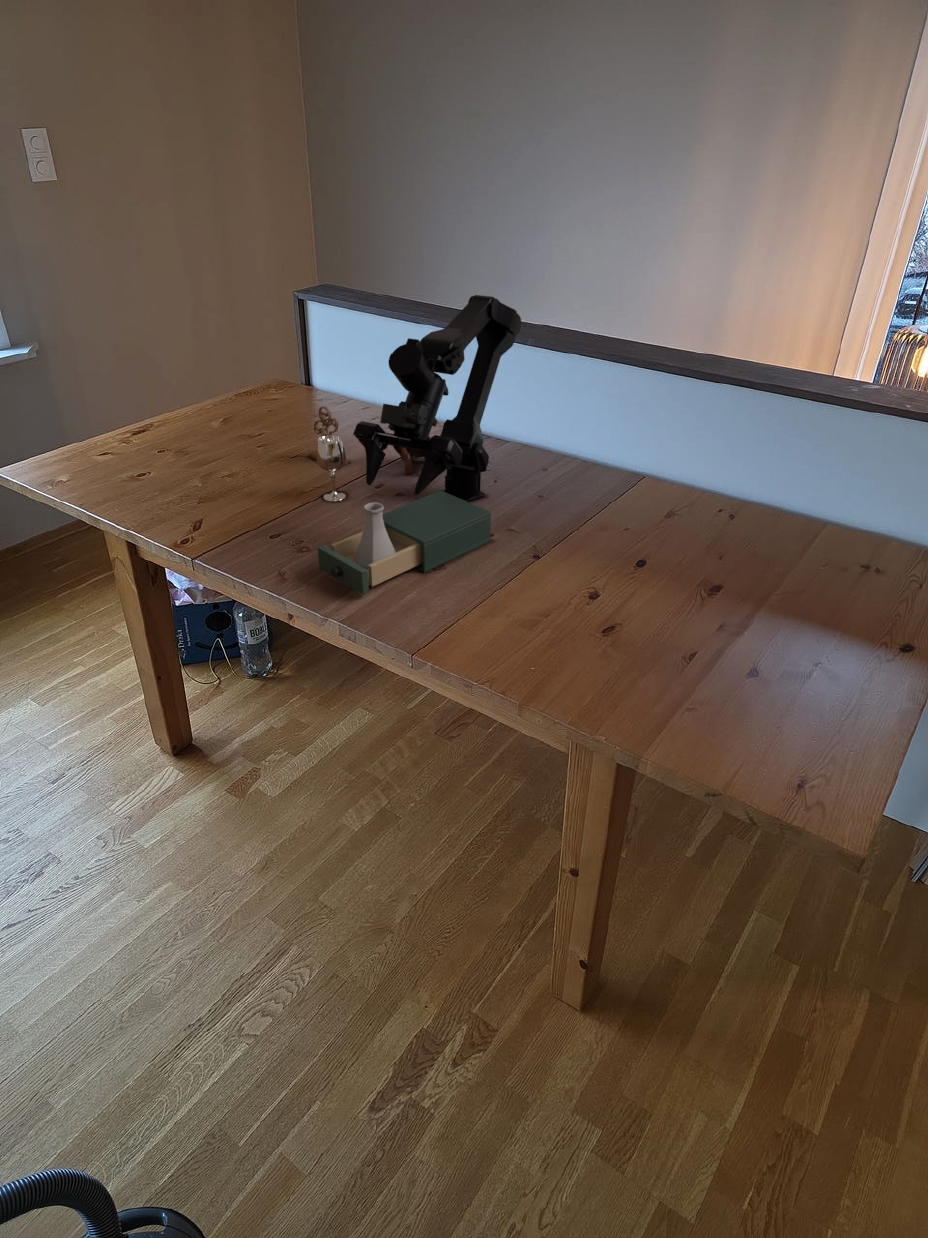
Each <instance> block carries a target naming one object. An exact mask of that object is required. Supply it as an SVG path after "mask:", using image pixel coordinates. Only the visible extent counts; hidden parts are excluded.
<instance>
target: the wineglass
mask: <svg viewBox="0 0 928 1238" xmlns="http://www.w3.org/2000/svg"><path fill="white" fill-rule="evenodd" d="M315 451H316V459H317V460H316V459H315V460H316V463H317V465H318V466H319V468H320V469H321V470H323V471H326V472H328V473H329V472H330V475H329V477H330V481H331V484H332V490H331V491H329V492H327V493H325V494H323V499H324V500H325V501H328V502H339V501H343V500H344V499H346V498H347V497H346V493H344V492H343V491H342V492H341V491H337V490H336V485H335V483H336V482H335V481H336V473H335V472H338V471H340V470H342V469H343V468H344V467H345V465H346V464H345V462H346V458H347V453H346V449H345V445H344V442H343V439H342V437H340V436H337V435H332V436H329V435H328V436H325V435H324V436H323V437H322V436H321V437H319V438H317V441H316V448H315Z"/></svg>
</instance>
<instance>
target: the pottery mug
mask: <svg viewBox="0 0 928 1238" xmlns="http://www.w3.org/2000/svg"><path fill="white" fill-rule="evenodd" d="M431 438H432V436H429V437H428V439H427V440H428V441H430V440H431ZM400 442H401V441H400ZM392 448H393V449H394V450H395V452H396V453H397V454H398V455H399V457H400V460H401V461H404V462H405V465H404V467H403V470H404V472H405V473H406V474H407V475H411V474H412V473H413V472H419V471H421V470H422V468H423V465H424V463H425V452H423V451H417V450H412V449H407V448H402V447H397V446H392Z"/></svg>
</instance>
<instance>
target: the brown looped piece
mask: <svg viewBox="0 0 928 1238" xmlns="http://www.w3.org/2000/svg"><path fill="white" fill-rule="evenodd" d="M323 409H324V410H325V411H326V412H325V411H322V410H323ZM318 417H319V420H316V421H315V422H314V423H313V430H314V433H315V434H316V435H321V437H323V436H333V434H335V433H336V432H337V431H338V429H339V421H338V420H337V418H335V417H334V418H332V414H331V411H330V409H329V407H327V406H320V407H319V409H318ZM319 423H321V425H322V427H319V426H318V424H319ZM330 426H333V427H334V429H333V431H332V430H329V428H330ZM309 457H310V458H312V459H314V460H316V461H317V459H316V450H314V451H311V452H310V453H309ZM348 463H349V459H348V458H347V457H346V462H345V465H347V464H348Z"/></svg>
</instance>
